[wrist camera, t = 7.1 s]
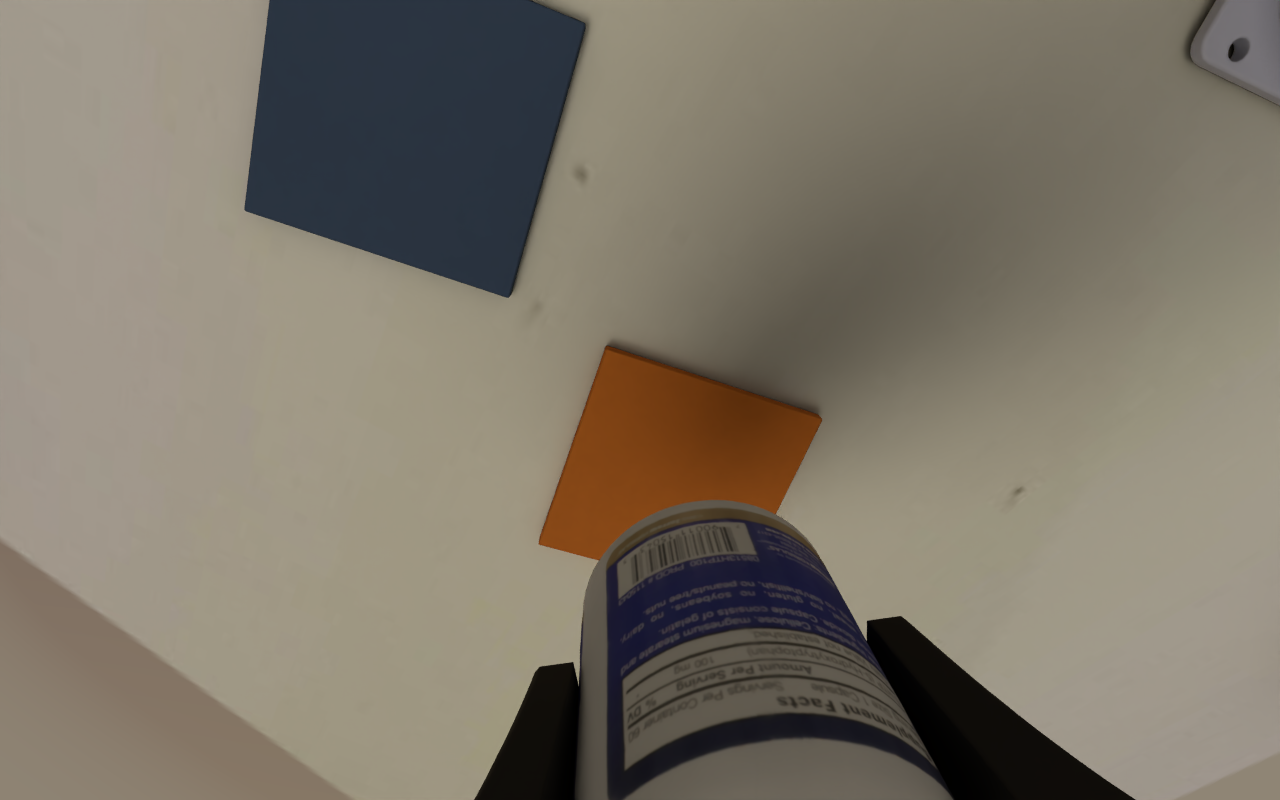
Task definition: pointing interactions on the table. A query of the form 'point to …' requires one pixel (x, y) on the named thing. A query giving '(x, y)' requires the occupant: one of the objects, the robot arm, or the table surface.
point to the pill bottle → (733, 672)
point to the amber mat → (669, 451)
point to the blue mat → (412, 127)
